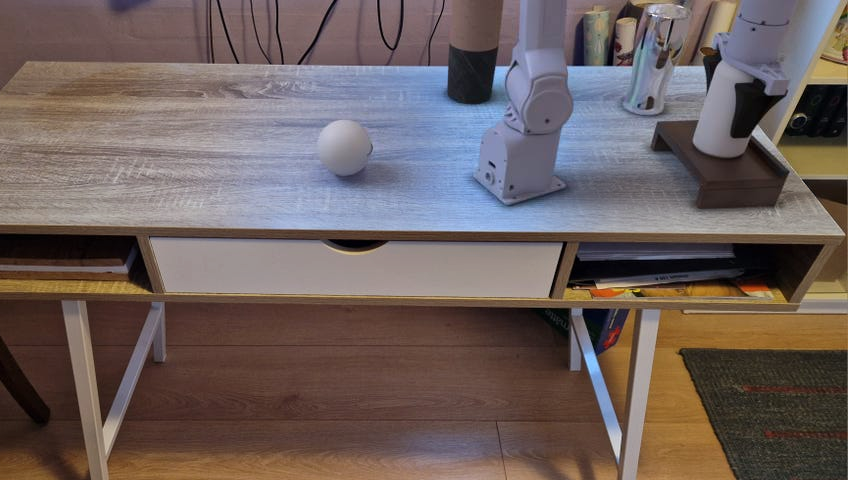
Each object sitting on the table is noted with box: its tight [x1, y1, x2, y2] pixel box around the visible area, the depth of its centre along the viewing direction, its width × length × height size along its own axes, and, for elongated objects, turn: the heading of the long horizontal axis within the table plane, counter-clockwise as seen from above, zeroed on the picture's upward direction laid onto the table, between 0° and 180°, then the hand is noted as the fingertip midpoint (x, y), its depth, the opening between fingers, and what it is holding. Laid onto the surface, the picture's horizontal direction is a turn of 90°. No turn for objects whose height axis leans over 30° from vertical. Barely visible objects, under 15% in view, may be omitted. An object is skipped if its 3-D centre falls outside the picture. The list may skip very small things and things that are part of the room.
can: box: [693, 60, 756, 159], centre depth 88 cm, size 6×6×12 cm
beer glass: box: [622, 2, 693, 116], centre depth 106 cm, size 7×7×15 cm
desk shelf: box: [650, 119, 791, 210], centre depth 93 cm, size 10×16×5 cm, turn 4°
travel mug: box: [446, 0, 504, 105], centre depth 108 cm, size 8×8×20 cm
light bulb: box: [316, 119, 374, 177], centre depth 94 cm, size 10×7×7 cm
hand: (726, 124), depth 90 cm, fingers closed on can, 6 cm apart
